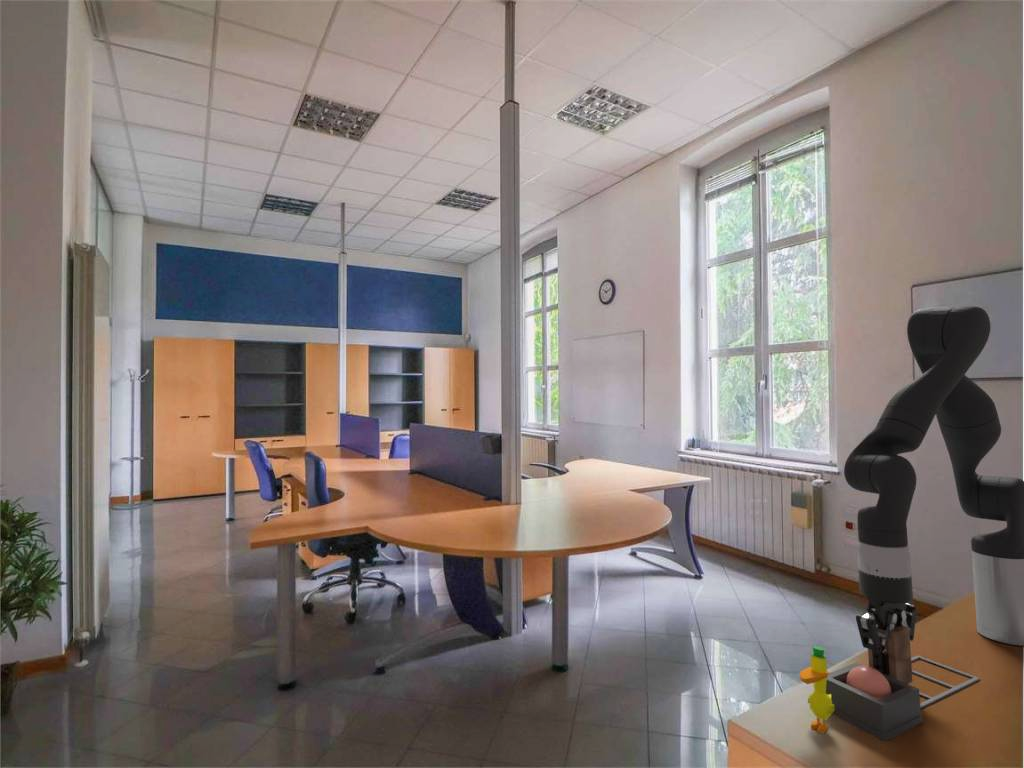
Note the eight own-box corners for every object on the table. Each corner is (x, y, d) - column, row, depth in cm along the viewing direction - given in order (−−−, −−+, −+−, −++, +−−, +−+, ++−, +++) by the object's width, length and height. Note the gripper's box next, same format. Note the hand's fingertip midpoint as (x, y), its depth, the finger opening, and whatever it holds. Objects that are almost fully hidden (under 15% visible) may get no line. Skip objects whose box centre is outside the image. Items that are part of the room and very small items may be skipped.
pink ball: (861, 692, 87) (859, 655, 88) (901, 710, 82) (898, 671, 82) (839, 702, 85) (837, 664, 85) (878, 721, 79) (876, 681, 80)
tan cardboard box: (884, 670, 92) (881, 618, 93) (912, 681, 88) (909, 627, 89) (869, 676, 90) (866, 623, 91) (897, 688, 86) (894, 633, 87)
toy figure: (815, 741, 77) (811, 658, 78) (793, 728, 80) (789, 649, 81) (844, 728, 80) (839, 648, 81) (821, 716, 83) (817, 639, 84)
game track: (917, 656, 101) (917, 655, 101) (979, 679, 93) (979, 678, 93) (848, 685, 92) (848, 683, 92) (910, 713, 83) (910, 711, 83)
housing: (857, 691, 90) (855, 661, 90) (923, 722, 81) (921, 689, 81) (819, 707, 86) (818, 676, 86) (885, 741, 77) (883, 706, 77)
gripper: (883, 582, 84) (889, 691, 83) (931, 568, 90) (938, 670, 89) (836, 569, 90) (842, 670, 90) (885, 557, 97) (890, 652, 96)
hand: (890, 669), depth 89 cm, fingers closed on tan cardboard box, 4 cm apart
